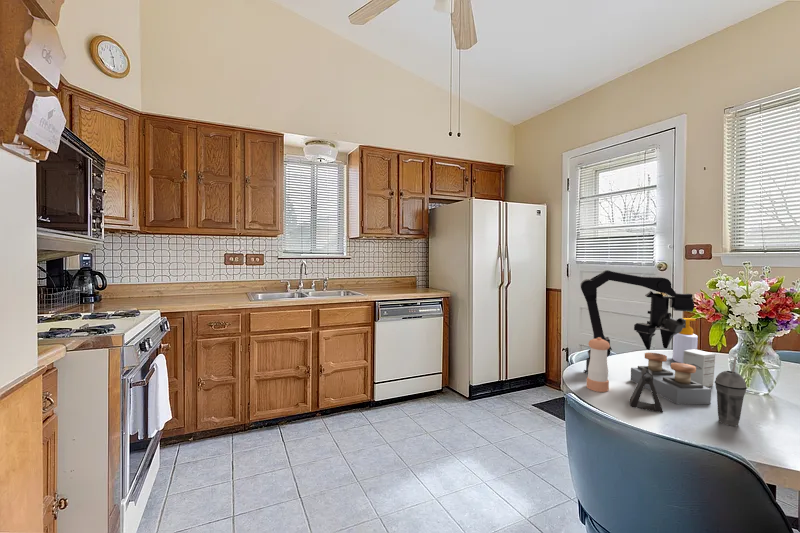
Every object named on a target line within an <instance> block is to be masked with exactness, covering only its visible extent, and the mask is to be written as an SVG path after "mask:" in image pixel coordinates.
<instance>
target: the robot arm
mask: <svg viewBox="0 0 800 533" xmlns="http://www.w3.org/2000/svg"><path fill="white" fill-rule="evenodd" d="M608 281H613V282H617V283H622V284H627V285H628V284H629V285H635V286H640V287H644V288H646V289H649V292H648V293H645V297H646V298H650V309H649V310H647V314H649V320H647V321H646V322H635V324H634V326H633V331H635V332H636V333H638V335H639V336H640V339H641V340H642V342H643V344H644V347H645V349H646V350H647V351H650V350H651V346H652V340H653V337H654V336H655V335H656V333H655V332H656V331H658V330H659V331H660V337H661V342H662V346H663V349H668V347H669V345H670V343H671V341H672V339H673V338H674V335H676V334H677V333H679V332H681V331H682V329H683V328H686V320H685V319H683V318H684V317H683V318H678V319H677V318H674V317H672V313H671V312H669V308H671V309H672V310H673V311H677V312H687V313H688V312H689V313H692V312H693V311H694V309H695V303H694V297H693V294H691V293H676V291H675V290H674V289H673V288H672V282H671V280H670V279H669V278H666V277H663V276H641V275H640V276H639V275H634V274H629V273H624V272H616V271H613V270H609V269H608V270H607V269H605V270H603V271H602V272H601V273H599V274H597V275H595V276H593V277H592V278H585V279H584V280H582V281H581V283H580V290H581V291H582V294H583V297H584V299H585V301H586V305H587V310H588V315H589V319H590V324H591V329H592V332H593V336H592V337H593V338H592V339H597V337H600V338H602V339H603V340H606V341H607V342H608V343H609V344H610V347H609V349H608V350H607V358H609V356H610V354H611V351H612V350H613V349H612V346H611V340H610V338H609V336H606V337H605V335H604V331H603V330H604V329H603V326H602V321H601V316H600V311H599V308H598V307H599V306H598V303H597V301H598V300H597V294H598V292H597V290H598V288H600V286H602V285H604V284H605V283H607V282H608ZM653 291H655V292H657V293H655V292H653ZM663 293H664V294H665V295H668V296H665V295H663ZM590 352H591V348H590V349H589V350H587V355H588V357H586V358H585V359H586V360H585V361H586V363H585V365H586V366H585V369H584V370H583V372H584V371H585V372H584V373H586V374H588V367H589V362H590Z"/></svg>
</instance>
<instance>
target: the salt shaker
mask: <svg viewBox="0 0 800 533" xmlns="http://www.w3.org/2000/svg"><path fill="white" fill-rule="evenodd" d="M587 344H588V346H589V347H590V349H591V352H590V362H589V367H588V373H587V377H586V388H587V389H589V390H590V391H593V392H598V393H599V392H600V393H605V392H608V391H609V390H610V389H609V387H610V381H609V367H608V357H607V350H608V349H609V347H610V346H611V343H610V344H609V343H608V342H607V341H606V340H603V339H602V338H600V337H597V339H593V338H592V339H590V340H589V341H588V343H587Z"/></svg>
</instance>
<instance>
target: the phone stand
mask: <svg viewBox="0 0 800 533" xmlns="http://www.w3.org/2000/svg"><path fill="white" fill-rule="evenodd" d="M648 371H649V374H650V376H649V377H648V376H647V377H646V376H644V375H645V374H646V370H645V368H644V369H642V370H641V378H640V380H639V382H638V384H637V383H636V386H635V387H634V390H633V392H632V394H631V395H630V397H629V406H630V407H631V408H635V409H639V410H647V411H650V412H655V413H661V414H662V413H664V410H663V406H662V402H661V400H660V397H659V395H658V394H657V392H656V389H655V387H654V384H653V375H652V372H651V370H650V369H648ZM645 384H649V385H650V388H651V391H650V392H651V395H652V399H653V402H654V403H650V402H645V401H640V399H641V396H642V393H643V391H644V388H645V387H644V386H645Z"/></svg>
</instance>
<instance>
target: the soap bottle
mask: <svg viewBox="0 0 800 533" xmlns="http://www.w3.org/2000/svg"><path fill="white" fill-rule="evenodd" d="M683 319H685V320H686V328H683V329H682V331H681V332H679V333H677V334H676V335H674V336H673V337H672V339H673V340H672V342H673V343H672V360H673V361H675V363H683V358H684V351H685V350H691V349H697V350H698V342H699V341H698V337H699V336H698V335H697V334H695V333H694V329H693V327H691V326H690V325H691V324H690V323H691V322H696V318H690V317H687V318H686V317H683Z"/></svg>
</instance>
